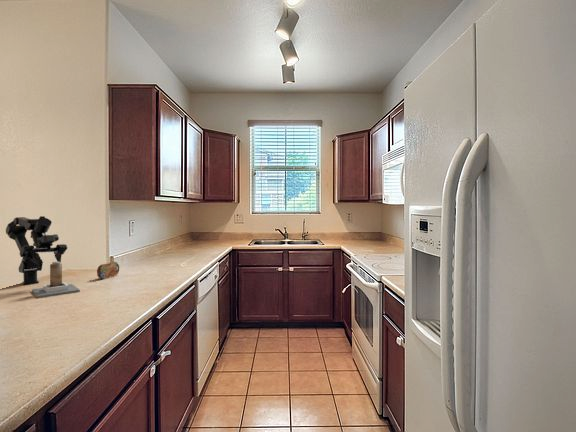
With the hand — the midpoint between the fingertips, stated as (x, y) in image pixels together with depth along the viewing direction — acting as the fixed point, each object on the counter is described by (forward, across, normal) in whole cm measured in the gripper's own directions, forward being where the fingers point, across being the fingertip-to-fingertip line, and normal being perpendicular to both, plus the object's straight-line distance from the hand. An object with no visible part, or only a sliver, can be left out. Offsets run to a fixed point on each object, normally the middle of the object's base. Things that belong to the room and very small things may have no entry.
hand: (49, 263), depth 159 cm
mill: (+13, 0, +3) cm, 13 cm away
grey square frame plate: (+14, 0, +4) cm, 14 cm away
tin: (+6, +32, +10) cm, 34 cm away
